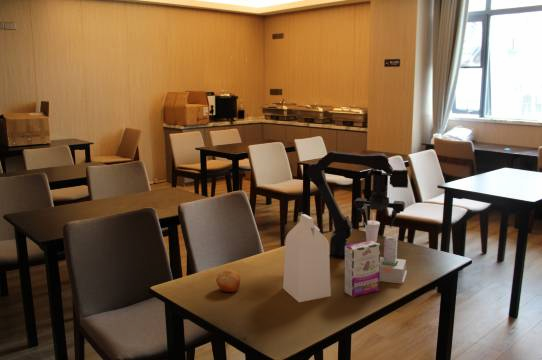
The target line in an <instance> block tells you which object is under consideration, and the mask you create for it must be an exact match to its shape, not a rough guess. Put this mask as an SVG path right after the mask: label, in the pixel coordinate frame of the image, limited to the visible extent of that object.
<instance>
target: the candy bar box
mask: <svg viewBox="0 0 542 360" xmlns="http://www.w3.org/2000/svg"><path fill="white" fill-rule="evenodd" d="M380 257H381V244H380V243H379V242H377V241H376V242H374V241H367V240H365V241H361V242H358V243H352V244H348V245H347V246H345V259H344V293H345V294H347V295H348V296H350V297H352V298H356V297H359V296H364V295H367V294H372V293H374V292H375V293H376V292H379V291H380V281H379V278H380Z"/></svg>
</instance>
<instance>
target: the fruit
mask: <svg viewBox="0 0 542 360" xmlns="http://www.w3.org/2000/svg"><path fill="white" fill-rule="evenodd" d="M215 282H216V284H217V286H218V288H219V289H220V290H221V292H226V293H235V292H237V291H239V288H240V285H241V276H240V274H239V273H238V270H236V269H234V268H227V269H226V268H225V269H223V270H222V271H220V272H219V273H218V275H217V276H216V278H215Z"/></svg>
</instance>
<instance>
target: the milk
mask: <svg viewBox="0 0 542 360" xmlns="http://www.w3.org/2000/svg"><path fill="white" fill-rule="evenodd" d="M284 246H285V247H284V263H283V264H284V266H283V282H282V283H283V286H282V289H283V290H284V291H286V292H287V293H288V294H289V295H290V296H291V297H292V298H293V299H295V300H296V301H297V302H298V303H303V302H306V301H307V302H308V301H311V300H312V301H313V300H317V299H322V298H328V297H331V296H332V293H331V269H330V265H331V264H330V257H329V255H330V241H329V240H328V239H327V237H326V236H324V235H323V234H322V232H321V229H320V228H319V227H318V226H317V225H315V221H314V218H313V217H311V216H309V215H307V214H305V213H303V214H302V213H301V214H300V217H299V222H297V224H295V225H294V226H293V227H292V228H291V229H290V231H289V232H288V233H287V234H286V236H285V245H284Z"/></svg>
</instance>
